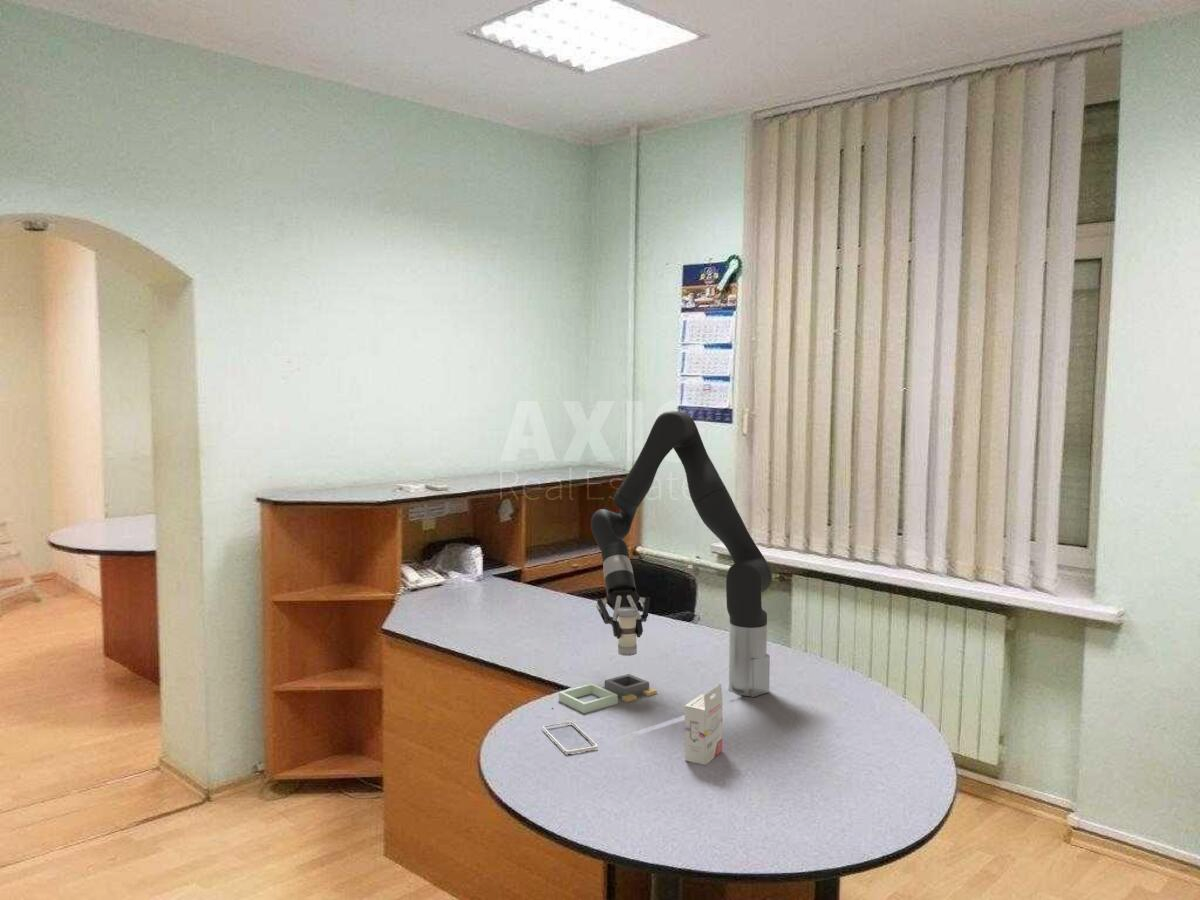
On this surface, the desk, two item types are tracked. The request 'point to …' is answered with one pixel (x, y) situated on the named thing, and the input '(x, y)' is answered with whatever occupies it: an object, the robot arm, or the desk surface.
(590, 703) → the tray
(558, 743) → the phone case
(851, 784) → the desk surface
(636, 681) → the holder
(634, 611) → the grey beige cylinder
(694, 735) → the ink cartridge box
